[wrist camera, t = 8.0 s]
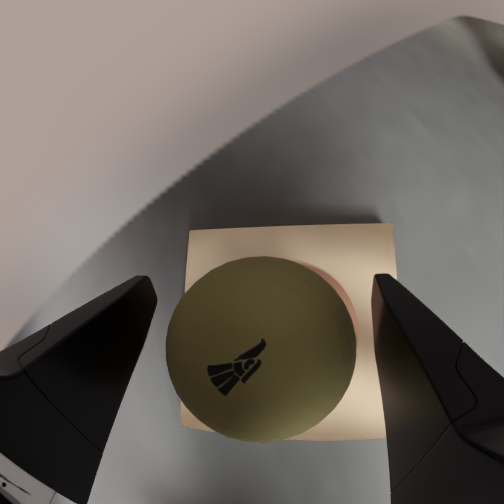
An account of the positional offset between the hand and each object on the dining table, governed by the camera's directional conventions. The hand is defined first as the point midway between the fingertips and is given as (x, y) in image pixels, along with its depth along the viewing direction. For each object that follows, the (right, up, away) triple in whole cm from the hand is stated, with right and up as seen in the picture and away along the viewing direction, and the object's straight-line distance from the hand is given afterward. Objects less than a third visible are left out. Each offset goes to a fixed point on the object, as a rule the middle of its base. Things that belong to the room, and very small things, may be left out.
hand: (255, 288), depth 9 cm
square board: (+2, -4, +9) cm, 10 cm away
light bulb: (+2, -3, +7) cm, 8 cm away
